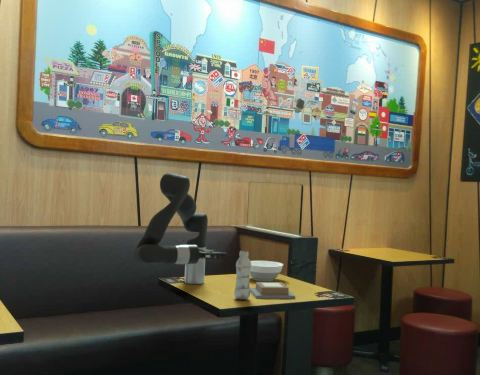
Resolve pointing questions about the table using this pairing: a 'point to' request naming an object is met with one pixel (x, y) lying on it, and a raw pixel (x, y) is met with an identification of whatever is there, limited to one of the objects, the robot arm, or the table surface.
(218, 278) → the table surface
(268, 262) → the bowl
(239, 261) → the plastic bottle
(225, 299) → the table surface
